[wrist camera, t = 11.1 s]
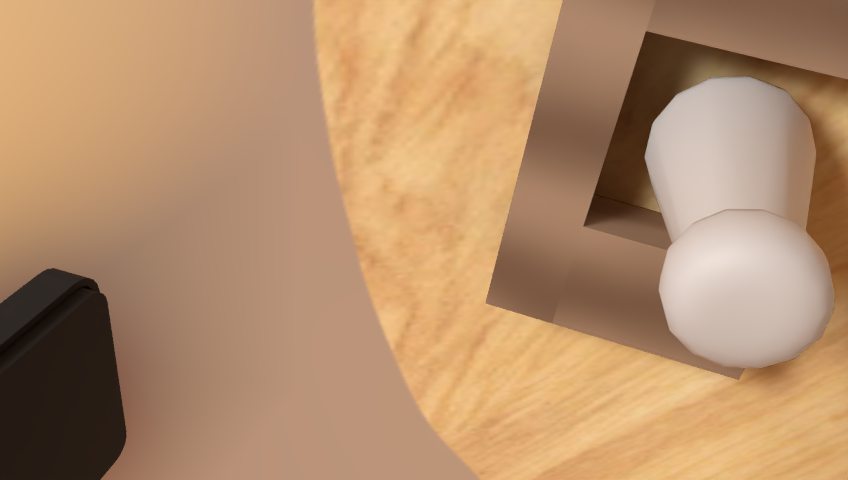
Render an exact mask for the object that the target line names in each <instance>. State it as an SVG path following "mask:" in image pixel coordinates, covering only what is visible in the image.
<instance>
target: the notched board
mask: <svg viewBox="0 0 848 480" xmlns="http://www.w3.org/2000/svg"><path fill="white" fill-rule="evenodd" d="M646 31H648V32H652V33H656V34H660V35H665V36H669V37H673V38H677V39H681V40H685V41H690V42H694V43H698V44H702V45H706V46H710V47H715V48H719V49H723V50H727V51H731V52H735V53H740V54H744V55H748V56H752V57H756V58H760V59H765V60H769V61H773V62H777V63H781V64H785V65H790V66H794V67H798V68H802V69H806V70H810V71H815V72H819V73H823V74H827V75H831V76H835V77H840V78H844V79H848V0H563V3H562V7H561V10H560V14H559V18H558V22H557V26H556V30H555V34H554V38H553V42H552V46H551V49H550V53H549V57H548V61H547V65H546V69H545V73H544V77H543V81H542V85H541V88H540V92H539V96H538V100H537V104H536V108H535V112H534V116H533V120H532V124H531V128H530V131H529V135H528V139H527V143H526V147H525V151H524V155H523V159H522V163H521V167H520V170H519V174H518V178H517V182H516V186H515V190H514V194H513V198H512V202H511V206H510V209H509V213H508V217H507V221H506V225H505V229H504V233H503V237H502V241H501V245H500V249H499V252H498V256H497V260H496V264H495V268H494V272H493V276H492V280H491V284H490V288H489V291H488V295H487V299H486V303H487V304H490V305H493V306H496V307H500V308H503V309H506V310H510V311H513V312H516V313H520V314H523V315H526V316H530V317H533V318H536V319H539V320H543V321H546V322H549V323H553V324H556V325H559V326H563V327H566V328H569V329H573V330H576V331H579V332H582V333H586V334H589V335H592V336H596V337H599V338H602V339H606V340H609V341H612V342H616V343H619V344H622V345H625V346H629V347H632V348H635V349H639V350H642V351H645V352H649V353H652V354H655V355H659V356H662V357H665V358H668V359H672V360H675V361H678V362H682V363H685V364H688V365H692V366H695V367H698V368H702V369H705V370H708V371H711V372H715V373H718V374H721V375H725V376H728V377H731V378H735V379H738V380H739V378H740V376H741V374H742V372H743V370H744V369H745V368H739V367H723V366H720V365H718V364H716V363H714V362H711V361H709V360H707V359H704V358H702V357H700V356H698V355H695V354H693V353H691V352H690V351H689V350H688V349H687V348H686V347H685V346H684V345H683V344H682V343H681V342H680V341H679V340H678V339H677V337H676V336H675V335H674V334H673V333H672V332H671V331H670V330H669V326H668V323H667V319H666V316H665V312H664V308H663V304H662V301H661V297H660V293H659V283H660V276H661V273H662V269H663V265H664V262H665V258H666V254H667V250H668V248H669V247H670V246H671V244H672V242H671V239H670V236H669V233H668V230H667V228H666V225H665V222H664V219H663V216H662V213H659V212H656V211H652V210H648V209H645V208H641V207H637V206H634V205H630V204H626V203H623V202H619V201H615V200H612V199H608V198H605V197H601V196H597V195H594V191H595V188H596V185H597V182H598V179H599V176H600V173H601V169H602V166H603V163H604V160H605V157H606V154H607V151H608V148H609V145H610V141H611V138H612V135H613V132H614V129H615V126H616V123H617V120H618V116H619V113H620V110H621V107H622V104H623V101H624V98H625V95H626V92H627V88H628V85H629V82H630V79H631V76H632V73H633V70H634V67H635V64H636V60H637V57H638V54H639V51H640V48H641V45H642V42H643V39H644V35H645V32H646Z"/></svg>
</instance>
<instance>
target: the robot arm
mask: <svg viewBox="0 0 848 480" xmlns="http://www.w3.org/2000/svg"><path fill="white" fill-rule="evenodd" d="M125 441H126V426H125V419H124V413H123V406H122V399H121V392H120V385H119V379H118V372H117V364H116V358H115V351H114V344H113V337H112V330H111V323H110V316H109V309H108V303H107V299H106V297H105V296H104V294H102V293H100V291H99V288H98V285H97V283H96V282H95V281H94V280H92V279H90V278H86V277H83V276H79V275H76V274H72V273H68V272H65V271H62V270H58V269H54V268H52V269H47V270H45V271H43V272H41V273H40V274H39V275H37V276H36V277H34V278H33V279H32V280H31V281H29V282H28V283H27V284H25V285H24V286H23V287H22V288H20V289H19V290H17V291H16V292H15V293H14V294H12V295H11V296H10V297H8V298H7V299H6V300H4V301H3V302H2V303H0V480H100V479H101V478H102V477H103V475H104V474H105V473H106V472H107V471H108V470H109V469H110V467H111V466H112V465H113V464H114V463H115V461H116V460H117V459H118V457H119V456H120V454H121V452H122V450H123V447H124V445H125Z"/></svg>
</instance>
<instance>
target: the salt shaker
mask: <svg viewBox="0 0 848 480" xmlns="http://www.w3.org/2000/svg"><path fill="white" fill-rule="evenodd" d="M645 161H646V165H647V168H648V172H649V176H650V180H651V184H652V188H653V190H654V193H655V196H656V199H657V202H658V205H659V208H660V210H661V213H662V216H663V219H664V222H665V225H666V228H667V230H668V233H669V236H670V239H671V242H672V244H671V246H670V247H669V248H668V250H667V254H666V258H665V262H664V265H663V269H662V273H661V276H660V283H659V293H660V297H661V301H662V304H663V308H664V312H665V316H666V319H667V323H668V326H669V330H670V331H671V332H672V333H673V334H674V335H675V336H676V337H677V339H678V340H679V341H680V342H681V343H682V344H683V345H684V346H685V347H686V348H687V349H688V350H689V351H690V352H691V353H693V354H695V355H698V356H700V357H702V358H704V359H707V360H709V361H711V362H714V363H716V364H718V365H720V366H723V367H739V368H763V367H767V366H771V365H774V364H778V363H781V362H785V361H789V360H792V359H795V358H796V357H798V356H799V355H800V354H801V353H803V352H804V351H805V350H806V349H807V348H809V347H810V346H811V345H812V344H814V343H815V342H816V341H817V340H819V339H820V338H821V337H822V335H823V332H824V330H825V328H826V326H827V324H828V321H829V319H830V317H831V315H832V313H833V310H834V302H835V293H834V288H833V282H832V277H831V272H830V267H829V263H828V260H827V258H826V256H825V254H824V252H823V250H822V249H821V248H820V247H819V246H818V245H817V243H816V242H815V241H814V240H813V239H812V238H811V236H810V235H809V234H808V233H807V232H806V227H807V220H808V212H809V205H810V198H811V190H812V183H813V175H814V168H815V161H816V148H815V143H814V138H813V133H812V128H811V123H810V119H809V118H808V117H807V116H806V114H805V113H804V112H803V111H802V110H801V108H800V107H799V106H798V105H797V104H796V102H795V101H794V100H793V99H792V97H791V96H790V95H789V94H788V93H787V92H786V91H785V90H784V89H782V88H779V87H776V86H774V85H771V84H769V83H766V82H763V81H761V80H758V79H755V78H753V77H750V76H736V77H713V78H709V79H707V80H705V81H703V82H701V83H699V84H697V85H695V86H693V87H690V88H688V89H686V90H684V91H682V92H680V93H678V94H677V95H676V96H675V97H674V98H673V99H672V100H671V102H670V103H669V104H668V105H667V106H666V107H665V109H664V110H663V111H662V112H661V113H660V115H659V116H658V117H657V118H656V119H655V120H654V122H653V124H652V128H651V132H650V136H649V140H648V144H647V149H646V153H645Z"/></svg>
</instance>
